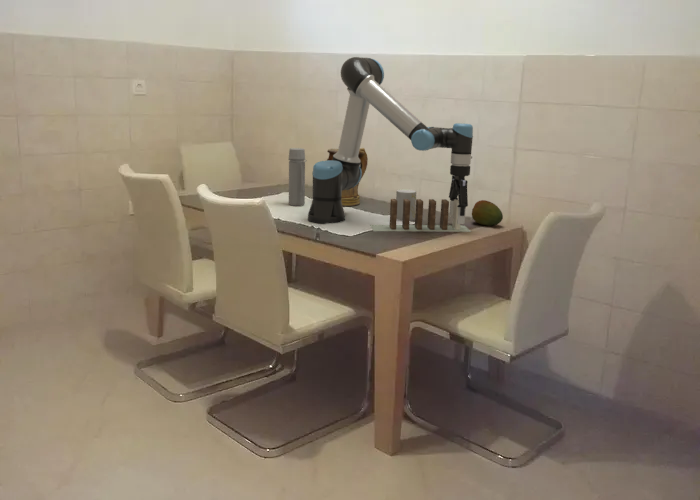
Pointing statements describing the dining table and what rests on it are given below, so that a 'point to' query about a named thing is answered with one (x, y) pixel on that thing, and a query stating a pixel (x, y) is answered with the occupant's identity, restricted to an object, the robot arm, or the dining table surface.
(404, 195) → the cup
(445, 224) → the tile
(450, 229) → the strip
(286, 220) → the dining table surface
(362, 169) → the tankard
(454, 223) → the ivory tile
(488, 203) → the fruit
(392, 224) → the tile
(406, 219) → the tile
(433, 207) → the tile
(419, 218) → the tile
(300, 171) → the water bottle
